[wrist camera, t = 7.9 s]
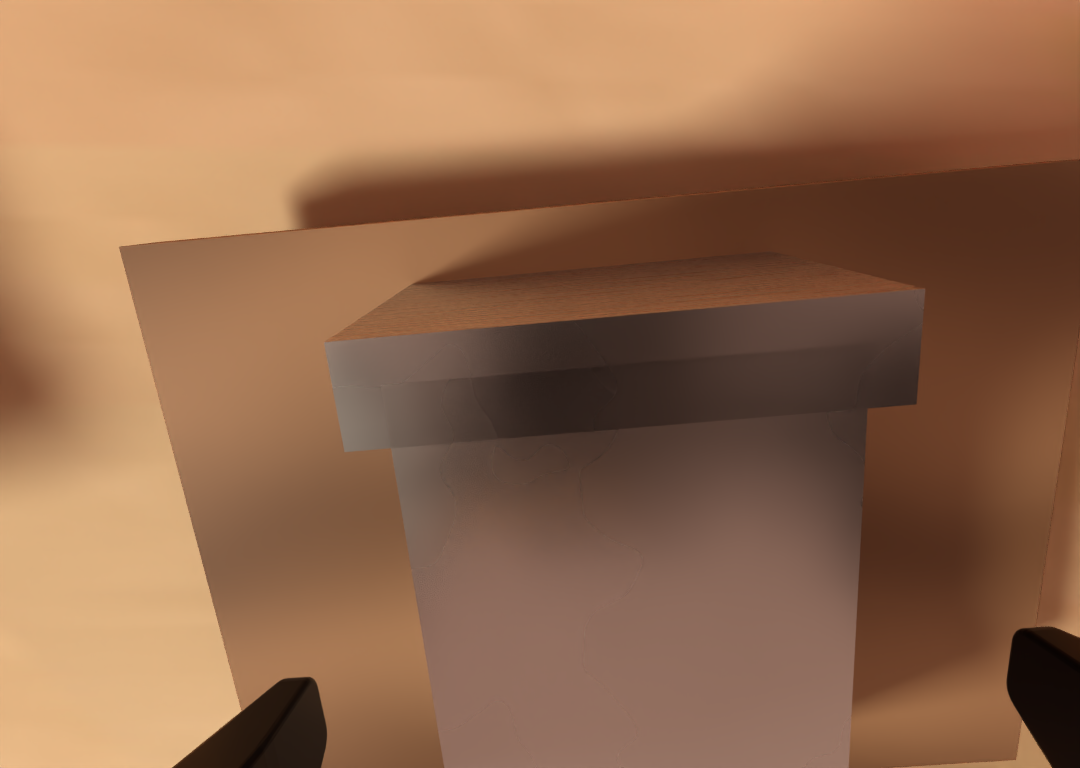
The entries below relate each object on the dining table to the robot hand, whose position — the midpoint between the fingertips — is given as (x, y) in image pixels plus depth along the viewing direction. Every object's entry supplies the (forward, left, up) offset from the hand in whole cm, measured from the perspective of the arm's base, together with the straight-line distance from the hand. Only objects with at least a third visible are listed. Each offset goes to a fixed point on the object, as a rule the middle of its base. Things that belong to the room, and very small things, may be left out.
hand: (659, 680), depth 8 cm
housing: (0, 0, -4) cm, 4 cm away
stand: (0, 0, -7) cm, 7 cm away
